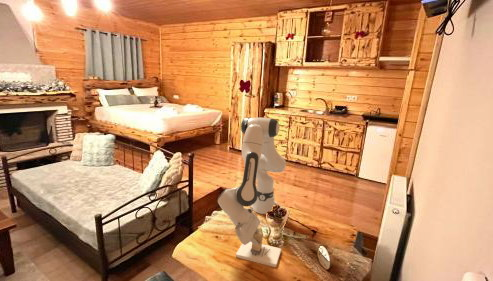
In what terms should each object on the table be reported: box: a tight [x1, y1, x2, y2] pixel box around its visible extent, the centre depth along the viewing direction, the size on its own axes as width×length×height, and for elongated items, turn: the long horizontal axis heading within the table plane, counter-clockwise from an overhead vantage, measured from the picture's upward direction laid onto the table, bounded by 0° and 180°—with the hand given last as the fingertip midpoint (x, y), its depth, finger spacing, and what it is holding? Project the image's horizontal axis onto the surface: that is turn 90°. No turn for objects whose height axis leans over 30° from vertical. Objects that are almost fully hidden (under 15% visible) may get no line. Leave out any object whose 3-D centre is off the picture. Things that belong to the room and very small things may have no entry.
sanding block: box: [250, 232, 264, 254], centre depth 127 cm, size 5×5×9 cm
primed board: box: [235, 242, 282, 268], centre depth 128 cm, size 13×20×2 cm, turn 72°
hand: (259, 240), depth 127 cm, fingers closed on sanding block, 5 cm apart
